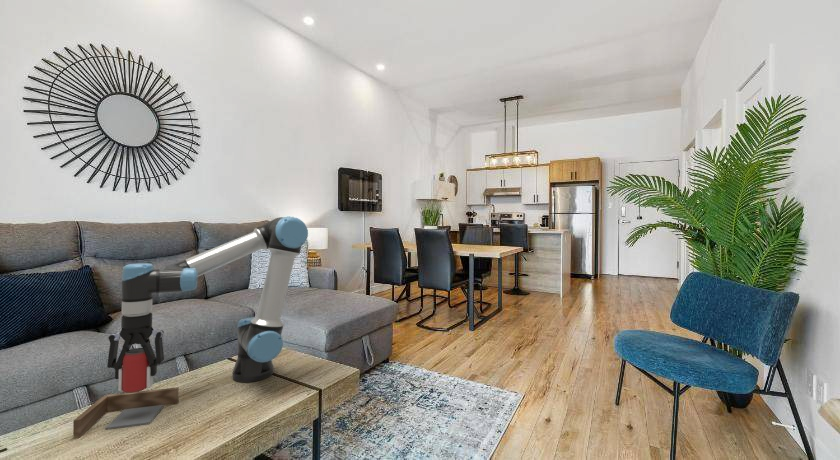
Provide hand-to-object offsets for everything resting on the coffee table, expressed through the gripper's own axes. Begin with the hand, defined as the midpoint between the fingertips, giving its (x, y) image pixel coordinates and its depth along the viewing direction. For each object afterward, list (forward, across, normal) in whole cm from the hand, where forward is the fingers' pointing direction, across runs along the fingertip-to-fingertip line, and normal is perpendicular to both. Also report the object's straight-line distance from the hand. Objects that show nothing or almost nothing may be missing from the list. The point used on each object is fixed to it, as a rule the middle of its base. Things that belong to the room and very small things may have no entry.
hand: (136, 387), depth 111 cm
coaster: (+9, 0, 0) cm, 9 cm away
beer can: (+1, 0, 0) cm, 1 cm away
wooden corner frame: (+9, +1, 0) cm, 10 cm away
